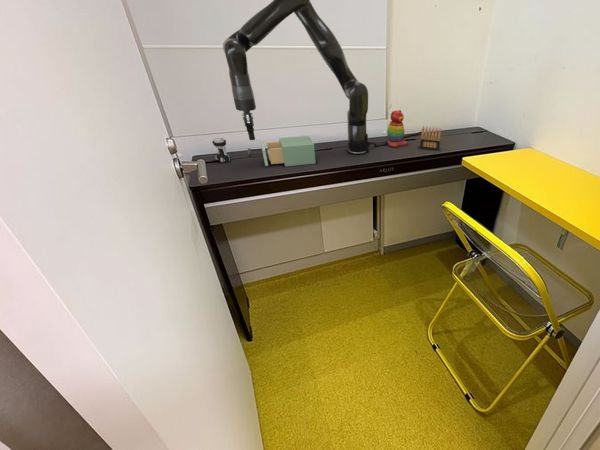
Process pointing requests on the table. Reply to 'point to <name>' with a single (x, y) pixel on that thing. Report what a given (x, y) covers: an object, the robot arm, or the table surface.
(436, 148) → the ammunition clip
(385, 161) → the table surface
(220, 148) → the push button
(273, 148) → the drawer
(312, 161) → the cabinet
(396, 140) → the stacking bear
